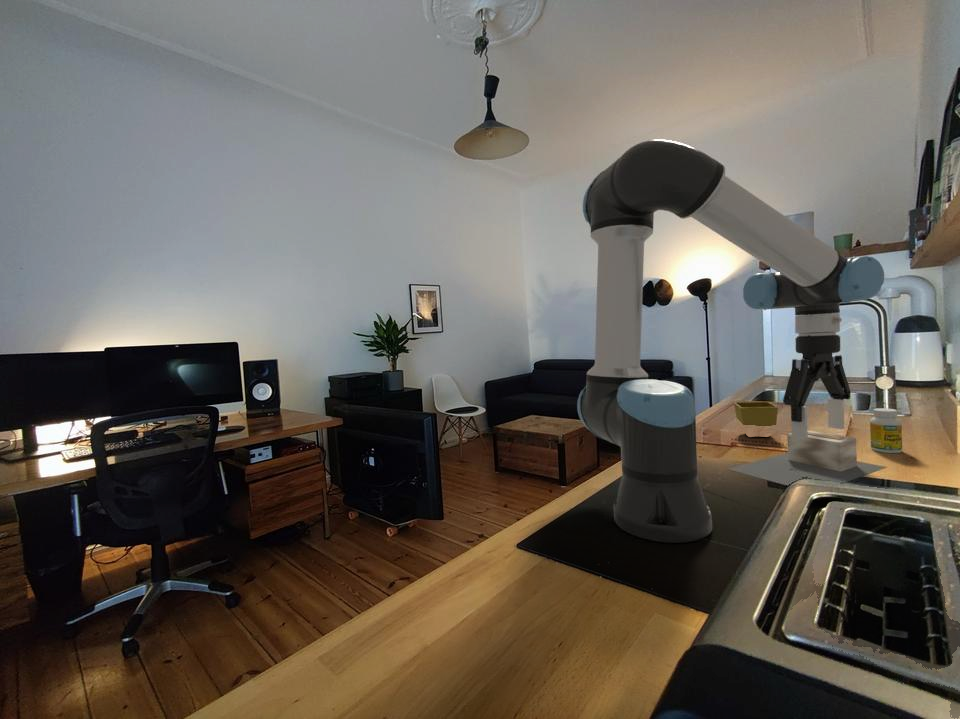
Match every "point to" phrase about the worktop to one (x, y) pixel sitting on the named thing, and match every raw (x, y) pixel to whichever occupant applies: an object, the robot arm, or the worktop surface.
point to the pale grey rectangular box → (823, 450)
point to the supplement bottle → (886, 431)
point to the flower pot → (756, 413)
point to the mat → (800, 470)
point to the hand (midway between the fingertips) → (818, 432)
